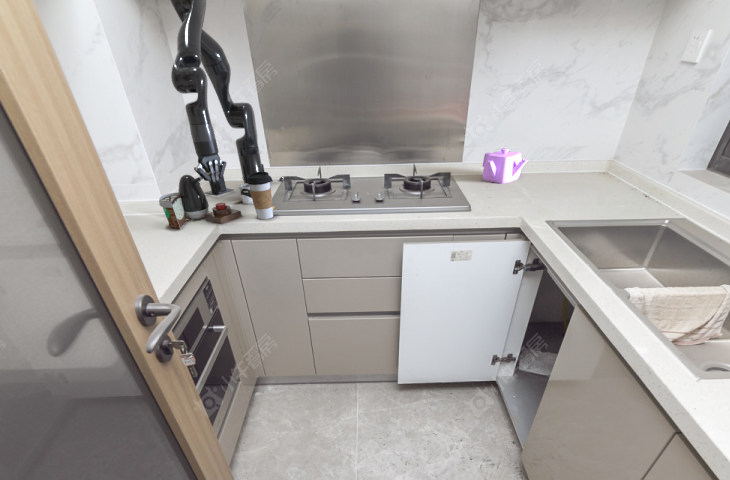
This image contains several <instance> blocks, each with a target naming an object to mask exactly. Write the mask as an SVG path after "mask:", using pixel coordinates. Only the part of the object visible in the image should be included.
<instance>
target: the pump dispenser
mask: <svg viewBox="0 0 730 480" xmlns="http://www.w3.org/2000/svg"><path fill="white" fill-rule="evenodd" d="M199 177H200V176H198V177H194V176H193V175H190V174H183V175H182V176H181V177H180V179H179V181H178V192H180V195H181V199H182V204H183V208H184V211H185V213H186V215H187V219H188V218H189V219H191V220H201V219H203V218H204V219H205V216H204V215H205V214H208V213H209V206H210V204H209V201H208V199H207V196H206V194H205V192H204V191H203V188H202V186H201V184H200V185H199V183H200V182H201V181H200V178H199ZM198 181H200V182H199V183H198Z"/></svg>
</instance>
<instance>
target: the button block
mask: <svg viewBox="0 0 730 480" xmlns="http://www.w3.org/2000/svg"><path fill="white" fill-rule="evenodd" d="M211 210H212V211H211V212H208V213H207V214H205V215H204V216H205V217H204V219H205V221H206V222H210V223H215V224H219V225H223V224H226V223H228V222H231V221H233V220H236V219H239V218H241V217H243V214H242V211H241V210H240V209H234V208H232V207H231V206H230V205H227V204H226V208H225V209H216V206H213V207H212V208H211Z"/></svg>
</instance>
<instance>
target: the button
mask: <svg viewBox="0 0 730 480" xmlns="http://www.w3.org/2000/svg"><path fill="white" fill-rule="evenodd" d="M214 205H215V207H216V209H225V208H226V205H227V204H226V203H225V202H216V203H215V204H214Z"/></svg>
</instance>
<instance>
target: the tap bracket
mask: <svg viewBox="0 0 730 480" xmlns="http://www.w3.org/2000/svg"><path fill="white" fill-rule="evenodd" d="M208 183H209V186H210V190H209V191H206V192H204V194H205V195H210V196H216V197H218V196H220V195H223V194H226V193H230V192H234V191H235V189H232V188H228V187H227V184H226V181H225V177H224V175H223V178H220V179H219V184H220V188H221V190H220V192H219V193H214V192H213V191H212V188H211V184H210V182H209V181H208Z"/></svg>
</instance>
